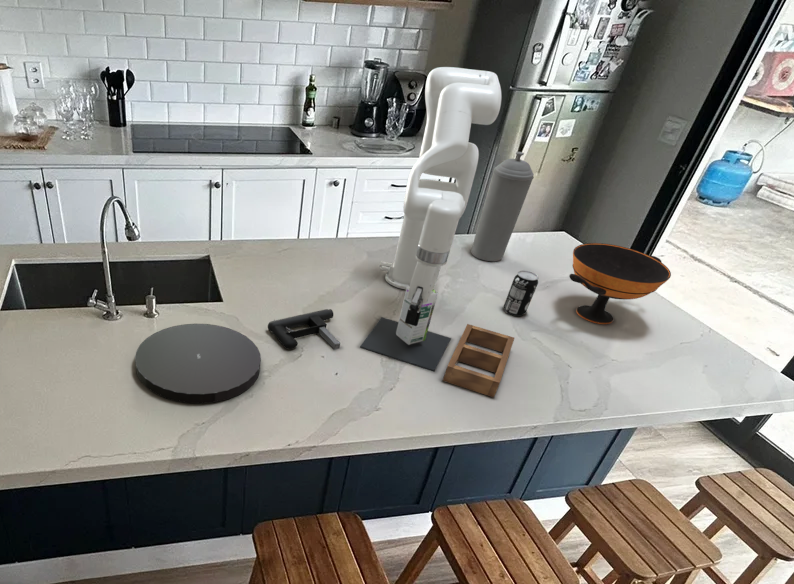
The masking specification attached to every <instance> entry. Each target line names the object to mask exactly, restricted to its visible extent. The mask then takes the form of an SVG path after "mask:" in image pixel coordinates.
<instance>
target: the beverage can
mask: <svg viewBox="0 0 794 584" xmlns="http://www.w3.org/2000/svg"><path fill="white" fill-rule="evenodd" d="M538 284H539V275H538V274H536V273H535V272H533V271H530V270H519V271H518V272H517V274H516V275H515V276H514V277H513V279H512V283H511V285H510V287H509V291H508V293H507V295H506V298H505V301H504V304H503V310H504V311H505V313H507V314H508V315H511V316H513V317H521V316H523V315H525V314H526V313H527V312H528V309H529V306H530V304H531V302H532V299H533V296H534V294H535V292H536V289H537V287H538Z"/></svg>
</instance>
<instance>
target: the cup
mask: <svg viewBox="0 0 794 584" xmlns="http://www.w3.org/2000/svg"><path fill="white" fill-rule="evenodd" d="M572 269H573V273H570V274H569V279H570V281H571V282H574V283H577V284H581V285H582V286H583V287H584V288H586V289H587V290H589V291H590V292H593V293H594V294H596V295H597V296H596V298H595V300H594V302H593V303H592V304H591V305H588V304H587V305H585V304H584V305H579V306H577V308H576V311H575V312H576V314H577V315H578V316H579V317H580V318H582V319H584V320H585V321H588V322H590V323H594V324H597V325H609V324H612V323H613V322H614V320H615V319H614V316H613V314H611V313H610V312H609V311H607V310H606V307H607V304H608V302H609V300H610V299H613V300H624V301H625V300H637V299H641V298H643V297H646V296H648V295H650V294H652V293H654V292H657V290H658V289H659V288H660V287H661V286H662V285H664V284H665V283H666V282H667V281H669V280H670V278H671V276H672V272H671V270H670V269H669V268H668V266H667V265H665V264H664V263H663V262H662V260H661V258H659V257H657V256H655V255H648V254H646V253H644V252H641V251H639V250H636V249H632V248H629V247H626V246H621V245H617V244H612V243H611V244H610V243H601V242H589V243H582V244H579V245H576V246H575V247H574V249H573V251H572Z"/></svg>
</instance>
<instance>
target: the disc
mask: <svg viewBox="0 0 794 584" xmlns="http://www.w3.org/2000/svg"><path fill="white" fill-rule="evenodd" d="M261 358H262V357H261V353H260V350H259V347H258V346H257V344H255V342H254V341H252V340H251V339H250V338H249V337H248V336H246V335H244V334H243V333H241V332H240V331H238V330H235V329H232V328H230V327H226V326H222V325H218V324H210V323H183V324H178V325H173V326H169V327H165V328H163V329H161V330H157V331H156V332H154V333H152V334H151V335H149V336H147V337H146V338H145V339H143V341H142V342H141V343H139V345H138V348H137V349H136V351H135V355H134V362H135V366H136V367H135V368H136V375H137V377H138V379H139V381H140V382H141V384H143V386H144V387H145V388H147V390H149V391H151V392H153V393H154V394H155V395H158V396H159V397H162V398H164V399H168V400H170V401H175V402H179V403H186V404H210V403H212V404H213V403H218V402H223V401H226V400H229V399H232V398H235V397H237V396H239V395H241V394H242V393H244V392H246V391H248V390H249V389H250V388H251V387H252V386H253V385H254V384H255V382H256V381H257V380H258V379H259V374H260V372H261V363H262V359H261Z"/></svg>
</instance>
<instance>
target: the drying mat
mask: <svg viewBox="0 0 794 584" xmlns="http://www.w3.org/2000/svg"><path fill="white" fill-rule="evenodd" d="M398 322H399V321H397V320H394V319H393V320H392V319H389V318H386V317H383V316H381V317H380V319H379V320H378V321H377V323H376V324H375V326H374V327H373V328H372V329H371V330H370V332H369V333H368V335H367V336H366V337H365V338H364V340H363V342H362V343H361V345H360V346H359V349H360V348H361V349H364V350H367V351H370V352H373V353H376V354H379V355H382V356H385V357H388V358H391V359H394V360H397V361H400V362H403V363H405V364H410V365H413V366H415V367H419V368H421V369H425V370H428V371H431V372H435V371H436V369H437V368H438V365H439V363H440V361H441V360H442V357H443V356H444V353H445V351H446V350H447V347H448V345H449V343H450V341H451V339H452V338H451V337H450V336H449V337H448V336H446V335H442V334H440V333H439V334H438V333H435V332H432V331H429V330H428V332H427V335H426V339H425V341H421V342H417V343H413V344H410V345H408V344H407V343H405V342H404V341H403V340H402V339H401V338H399V337H398V336H397V335H396V331H397V327H398Z"/></svg>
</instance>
